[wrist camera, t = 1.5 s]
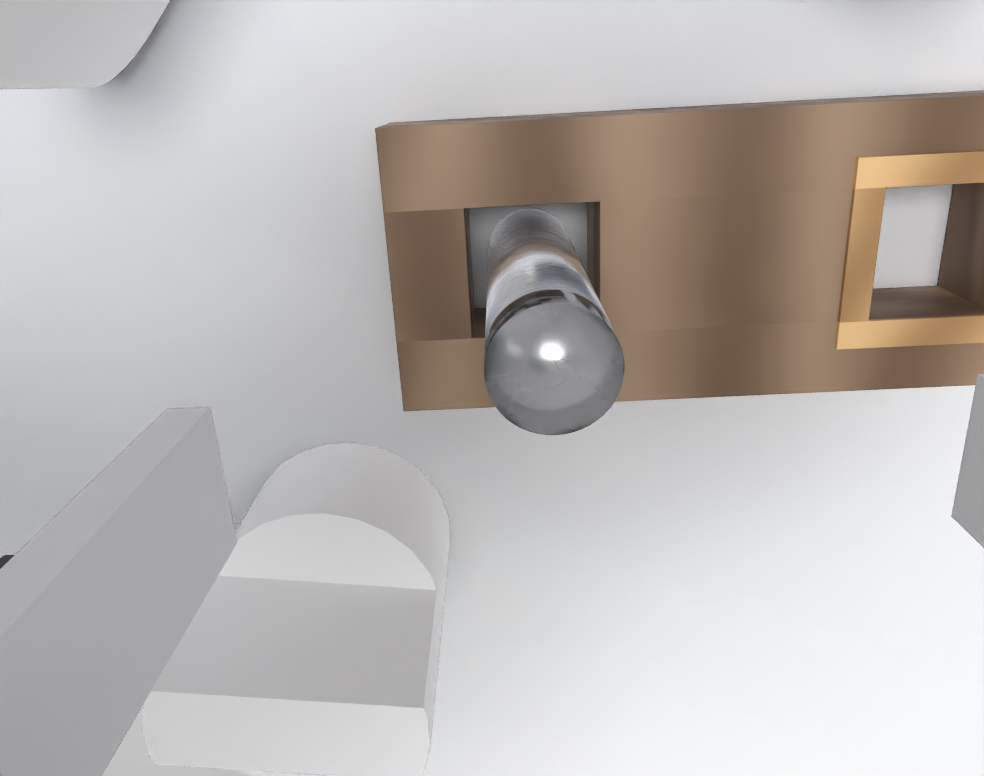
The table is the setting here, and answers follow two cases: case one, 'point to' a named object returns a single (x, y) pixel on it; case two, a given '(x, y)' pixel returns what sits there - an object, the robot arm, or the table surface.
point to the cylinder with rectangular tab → (315, 628)
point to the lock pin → (546, 330)
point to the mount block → (702, 241)
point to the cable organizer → (71, 40)
